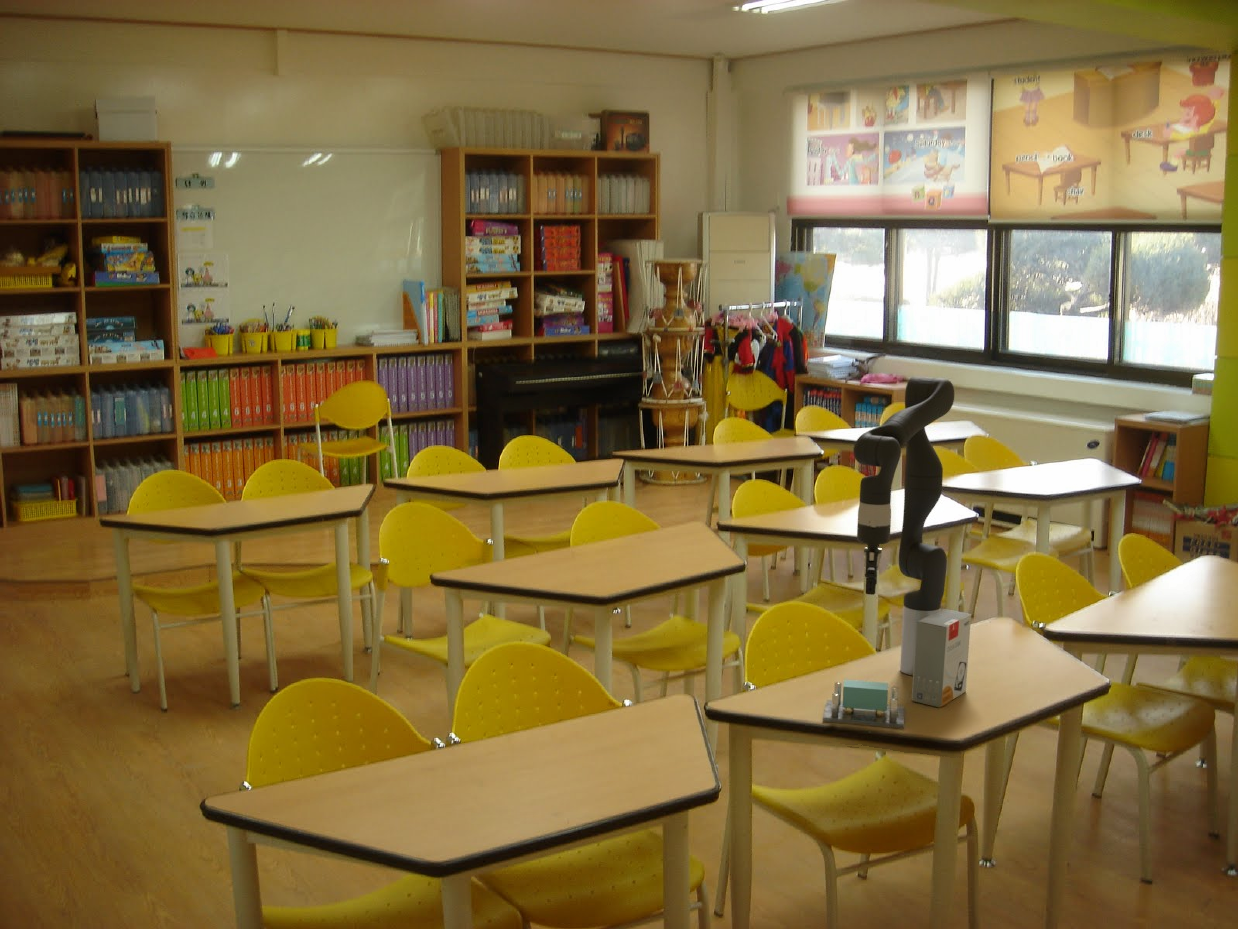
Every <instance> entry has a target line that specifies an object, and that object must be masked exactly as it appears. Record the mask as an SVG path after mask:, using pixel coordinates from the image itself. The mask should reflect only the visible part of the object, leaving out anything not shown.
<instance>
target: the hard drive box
mask: <svg viewBox="0 0 1238 929" xmlns="http://www.w3.org/2000/svg"><path fill="white" fill-rule="evenodd" d="M971 619H972V614H971V613H968V612H963V611H958V610H953V609H952V610H951V609H947V608H941V610H940V611H938V612H936V613H934V614H932V615H930V616H928V617H926V618H924V619H922V620H920V621H918V622H917V631H916V646H915V659H914V673H913V676H912V689H911V690H912V692H911V701H912V702H915V703H919V704H924V705H927V706H932V707H936V708H942V707H944V706H945V705H948V704H949V703H950V702H952V701H953V700H954V699H956V698H958V697H960V696H961V695H963V694H964V693H965V692H966V691H967V679H968V667H969V665H968V664H969V663H968V662H969V650H970V636H971V635H970V634H971V624H972V623H971V622H972V620H971Z"/></svg>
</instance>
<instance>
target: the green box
mask: <svg viewBox="0 0 1238 929" xmlns="http://www.w3.org/2000/svg"><path fill="white" fill-rule="evenodd" d="M842 688H843V690H842V701H843V708H855V709H867V710H879V711H887V705H888V697H889V696H888V694H889V683H888V682H878V681H868V680H865V681H864V680H856V679H855V680H853V679H844V680H843V685H842Z"/></svg>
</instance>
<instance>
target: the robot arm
mask: <svg viewBox="0 0 1238 929" xmlns="http://www.w3.org/2000/svg"><path fill="white" fill-rule="evenodd" d="M954 402H955V387H954V385H953V383H952V381H950V380H949V379H946V378H942V377H929V376H928V377H927V376H912V377H910V379H909V380H908V381H907V384H906V387H905V392H904V409H901V410H898V411H897V412H895V413H893V414H892V415H890V416H889V417H888V418H887V419H886V420H885V421H884V423H882V424H881V425H879V426H876V427H874V428H871V429H870V430H868V431H866V432H864V433H862V434H861V435H859V437H858V438H857V439H856V441H855V443H854V445H853V452H852V453H853V456H854V459H855V460H856V462H857V463H859V464H861V465H863V466H869V467H878V468H879V469H880V470H879V471H878V473H877V474H873V475H867V476H864V477H862V478H861V480H860V487H859V504H858V508H857V509H858V510H857V526H856V527H857V528H856V529H857V530H856V531H857V532H856V533H857V534H856V540H857V541H858V542H860V543H861V544H867V547H864V550H863V559H864V560H863V561H864V562H863V568H864V570H865V573H864V577H865V594H866V595H875V594H876V588H877V587H876V585H877V583H878V571H879V570H880V564H881V558H882V551H883V550H882V548H880V545H885V544H888V543H889V542H890V541H891V526H892V525H891V523H892V522H891V521H892V520H891V519H892V508H891V507H892V506H891V503H892V500H891V499H892V484H893V481H894V477H895V473H896V470H897V467H898V465H899V462H900V458H901V454H902V448H903V447H904V446H905V465H904V485H903V486H904V496H903V497H904V498H903V499H904V501H903V515H902V516H903V518H902V528H901V536H900V543H899V549H898V567H899V571H900V573H901V574H902V575H903V576H905V577H908V578H911V579H914V580H919V581H920V585H919V589H916V590H912V591H908V592H906V593H905V594H904V596H903V602H902V603H903V605H902V607H903V609H902V624H901V625H902V628H901V629H902V630H901V649H900V664H899V665H900V671H901V672H902V673H904V674H906V675H908V676H912V677H913V673H914V659H915V646H916V631H917V622H918V621H920V620H922V619H924V618H926V617H928V616H930V615H932V614H934V613H936V612H938V611H940V610H942V608H941V607H942V600H943V597H944V595H945V586H946V576H947V568H948V567H947V566H948V560H947V555H946V552H945V550H944V549H943V547H940V546H937V545H933V544H930V543H929V544H928V543H924V542H923V533H924V525H925V523H926V520H927V518H928V517H929V515H930V513H931V512H932V510H934V509H935V506H936V505H937V503H938V502H939V500H940V498H941V497H942V493H943V492H942V491H943V479H944V478H943V476H944V474H943V473H944V471H943V470H944V468H943V463H942V462H941V459H940V458H939V455H938V454H937V452H936V449H935V448H934V446H933V445H932V443H931V441H930V438H929V436H928V434H927V432H926V427H927V426H929V425H930V424H932V423H934V422H936V421H937V420H939V419H940V418H942V417H944V416H945V415H947V414H948V413H949V412H950V410H951V409H952V407H953V404H954Z"/></svg>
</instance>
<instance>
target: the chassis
mask: <svg viewBox="0 0 1238 929" xmlns="http://www.w3.org/2000/svg"><path fill="white" fill-rule="evenodd" d="M842 686H843V684H842V682H840V681H835V682H834V690H833V693H832V696H831V699H827V700H826V704H825V707H824V713H823V718H822V722H823V723H835V724H846V725H858V726H870V727H879V728H889V729H890V728H891V729H901V730H904V728H905V713H906V710H905V709H906V706H903V705H898V700H899V687H897V686H891V688H890V689H891V690H890V701H889V704H887V711H879V710H867V709H855V708H843V700H842Z"/></svg>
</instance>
